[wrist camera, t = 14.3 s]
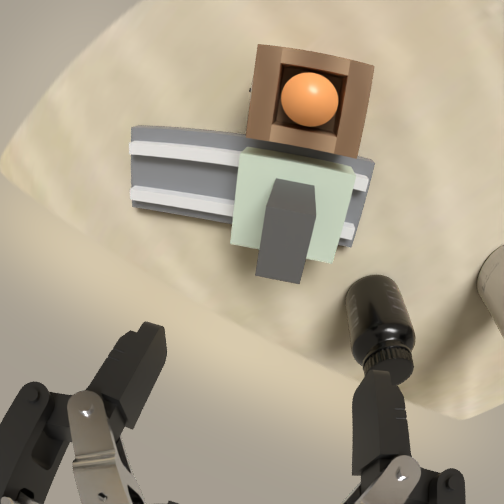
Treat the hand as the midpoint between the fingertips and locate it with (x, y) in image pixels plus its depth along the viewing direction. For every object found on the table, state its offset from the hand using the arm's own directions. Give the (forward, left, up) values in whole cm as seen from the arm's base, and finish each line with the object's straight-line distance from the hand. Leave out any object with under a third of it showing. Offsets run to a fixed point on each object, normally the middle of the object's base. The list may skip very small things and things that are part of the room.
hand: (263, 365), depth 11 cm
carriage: (0, 0, -18) cm, 18 cm away
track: (+5, 0, -22) cm, 22 cm away
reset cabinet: (0, -9, -22) cm, 23 cm away
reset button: (0, -9, -18) cm, 20 cm away
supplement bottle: (-12, +11, -22) cm, 27 cm away
